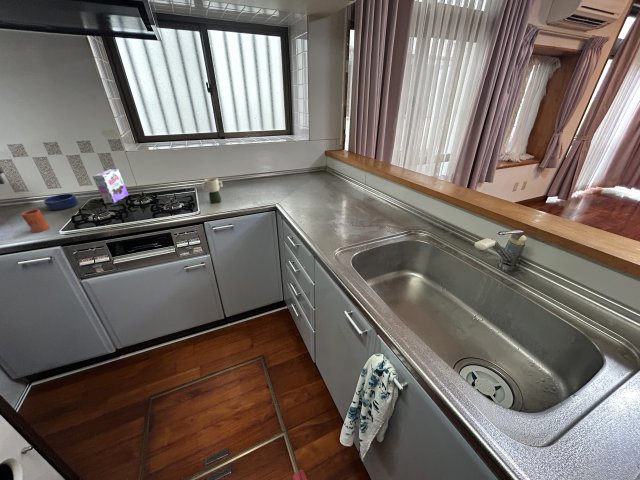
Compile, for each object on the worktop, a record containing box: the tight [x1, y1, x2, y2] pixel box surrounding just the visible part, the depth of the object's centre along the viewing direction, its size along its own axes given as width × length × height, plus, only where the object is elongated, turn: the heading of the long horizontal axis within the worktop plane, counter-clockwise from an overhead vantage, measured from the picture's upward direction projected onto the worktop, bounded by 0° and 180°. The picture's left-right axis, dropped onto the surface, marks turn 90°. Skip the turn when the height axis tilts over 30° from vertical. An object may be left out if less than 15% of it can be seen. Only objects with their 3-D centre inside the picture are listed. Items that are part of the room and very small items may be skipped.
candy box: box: [92, 168, 130, 204], centre depth 155 cm, size 14×6×16 cm, turn 179°
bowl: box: [43, 193, 79, 211], centre depth 150 cm, size 13×13×5 cm
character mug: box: [201, 177, 223, 203], centre depth 151 cm, size 11×7×13 cm, turn 116°
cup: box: [20, 209, 51, 234], centre depth 124 cm, size 6×6×9 cm
